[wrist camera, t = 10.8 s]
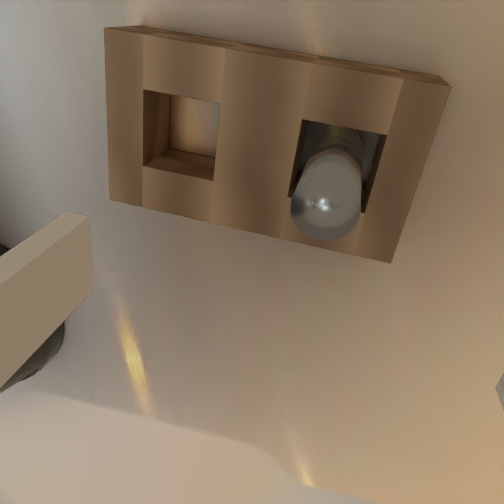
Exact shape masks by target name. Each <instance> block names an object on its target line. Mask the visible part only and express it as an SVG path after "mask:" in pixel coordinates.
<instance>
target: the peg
mask: <svg viewBox="0 0 504 504" xmlns="http://www.w3.org/2000/svg"><path fill="white" fill-rule="evenodd" d="M362 153H363V144H362V140H361V137H360V135H359V134H358V132H357V131H356V130H355V129H352V128H347V127H342V126H336V125H330V126H328V127H326V128H325V129H323V130H322V131H321V132H320V133H319V135H318V136H317V138H316V140H315V143H314V145H313V148H312V150H311V153H310V155H309V157H308V160H307V162H306V165H305V167H304V170H303V172H302V175H301V177H300V180H299V182H298V185H297V187H296V190H295V192H294V195H293V197H292V200H291V205H290V211H291V216H292V219H293V222H294V223H295V225H296V227H297V228H298V229H299V230H300V231H301V232H302V233H304V234H305V235H306V236H308V237H310V238H313V239H316V240H321V241H332V240H336V239H339V238H342V237H344V236H345V235H347V234H348V233H349V232H351V231H352V230H353V228H354V227H355V226H356V224H357V222H358V220H359V217H360V209H361V181H362Z"/></svg>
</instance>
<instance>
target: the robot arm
mask: <svg viewBox="0 0 504 504" xmlns="http://www.w3.org/2000/svg"><path fill="white" fill-rule="evenodd" d="M92 291H93V276H92V259H91V242H90V225H89V217H88V216H84V215H79V214H75V213H70V212H65V213H63V214H62V215H60V216H59V217H57V218H56V219H54V220H53V221H51V222H50V223H48V224H47V225H46V226H44V227H43V228H41V229H40V230H38V231H37V232H35V233H34V234H32V235H31V236H30V237H28V238H27V239H25V240H24V241H22V242H21V243H19V244H18V245H16V246H15V247H14V248H12V249H11V250H8V249H6V248H4V247H2V246H1V245H0V393H1V392H3V391H4V390H6V389H8V388H9V387H11V386H12V385H14V384H16V383H17V382H19V381H22V380H25V379H27V378H29V377H31V376H33V375H34V374H36V373H37V372H38V371H40V370H41V369H42V368H43V367H44V366H45V365H46V364H47V363H48V361H49V360H50V359H51V358H52V357H53V356H54V355H55V354H56V353H57V351H58V350H59V348H60V346H61V343H62V339H63V321H64V320H65V319H66V318H67V317H68V316H69V315H70V314H71V313H72V312H73V311H74V310H75V309H76V308H77V307H78V306H79V305H80V304H81V303H82V301H83V300H84V299H85V298H86V297H87V296H88V295H89V294H90V293H91V292H92ZM495 388H496V390H497V393H498V396H499V398H500V401H501V404H502V406H503V409H504V373H503V375H502V377H501V379H500V380H499V382H498V384H497V386H496V387H495Z"/></svg>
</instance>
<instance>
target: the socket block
mask: <svg viewBox="0 0 504 504" xmlns="http://www.w3.org/2000/svg"><path fill="white" fill-rule="evenodd" d="M104 43H105V71H106V100H107V129H108V157H109V186H110V200H113V201H118V202H122V203H126V204H131V205H135V206H140V207H144V208H148V209H153V210H157V211H162V212H166V213H170V214H175V215H179V216H184V217H188V218H193V219H197V220H201V221H206V222H210V223H215V224H219V225H223V226H228V227H232V228H237V229H241V230H246V231H250V232H254V233H259V234H263V235H268V236H272V237H276V238H281V239H285V240H290V241H294V242H299V243H303V244H307V245H312V246H316V247H321V248H325V249H329V250H334V251H338V252H343V253H347V254H352V255H356V256H360V257H365V258H369V259H374V260H378V261H382V262H387V263H391V261H392V258H393V255H394V252H395V249H396V247H397V244H398V241H399V238H400V235H401V232H402V229H403V226H404V223H405V220H406V217H407V215H408V212H409V209H410V206H411V203H412V200H413V197H414V194H415V191H416V188H417V185H418V183H419V180H420V177H421V174H422V171H423V168H424V165H425V162H426V159H427V156H428V153H429V150H430V148H431V145H432V142H433V139H434V136H435V133H436V130H437V127H438V124H439V121H440V118H441V116H442V113H443V110H444V107H445V104H446V101H447V98H448V95H449V92H450V89H451V87H450V86H449V85H448V84H447V83H446V82H445V81H444V80H443V79H442V78H441V77H440V76H434V75H428V74H422V73H416V72H410V71H404V70H398V69H392V68H386V67H380V66H374V65H368V64H363V63H357V62H351V61H345V60H339V59H333V58H327V57H321V56H315V55H309V54H303V53H297V52H291V51H285V50H280V49H274V48H268V47H262V46H256V45H250V44H244V43H238V42H232V41H226V40H220V39H214V38H208V37H202V36H197V35H191V34H185V33H179V32H173V31H167V30H161V29H155V28H149V27H143V26H123V27H108V28H104ZM170 94H172V95H177V96H182V97H188V98H193V99H198V100H204V101H209V102H214V103H220V115H219V126H218V137H217V148H216V158H212V157H207V156H202V155H197V154H192V153H188V152H183V151H178V150H173V149H168V142H169V114H170ZM307 120H310V121H315V122H320V123H326V124H331V125H336V126H342V127H347V128H352V129H357V130H363V131H368V132H373V133H379V134H380V138H379V142H378V145H377V149H376V152H375V156H374V159H373V163H372V167H371V170H370V174H369V177H368V181H367V184H366V188H365V189H362V188H361V209H360V217H359V220H358V222H357V224H356V226H355V227H354V228H353V230H352V231H351V232H349V233H348V234H347V235H345V236H344V237H342V238H339V239H336V240H332V241H321V240H316V239H313V238H310V237H308V236H306V235H305V234H304V233H302V232H301V231H300V230H299V229H298V228H297V227H296V225H295V223H294V222H293V219H292V216H291V211H290V205H291V200H292V197H293V195H294V192H295V190H296V187H297V185H298V182H299V180H300V177H301V176H299V175H297V172H298V167H299V161H300V156H301V151H302V146H303V141H304V135H305V130H306V125H307Z"/></svg>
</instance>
